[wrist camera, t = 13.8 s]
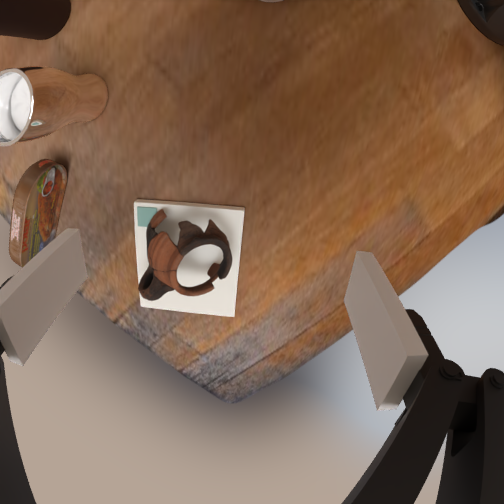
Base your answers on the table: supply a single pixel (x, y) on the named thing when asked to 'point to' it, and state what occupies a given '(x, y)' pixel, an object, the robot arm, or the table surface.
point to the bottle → (33, 18)
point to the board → (193, 254)
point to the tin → (36, 210)
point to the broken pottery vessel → (180, 258)
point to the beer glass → (46, 101)
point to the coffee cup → (271, 0)
